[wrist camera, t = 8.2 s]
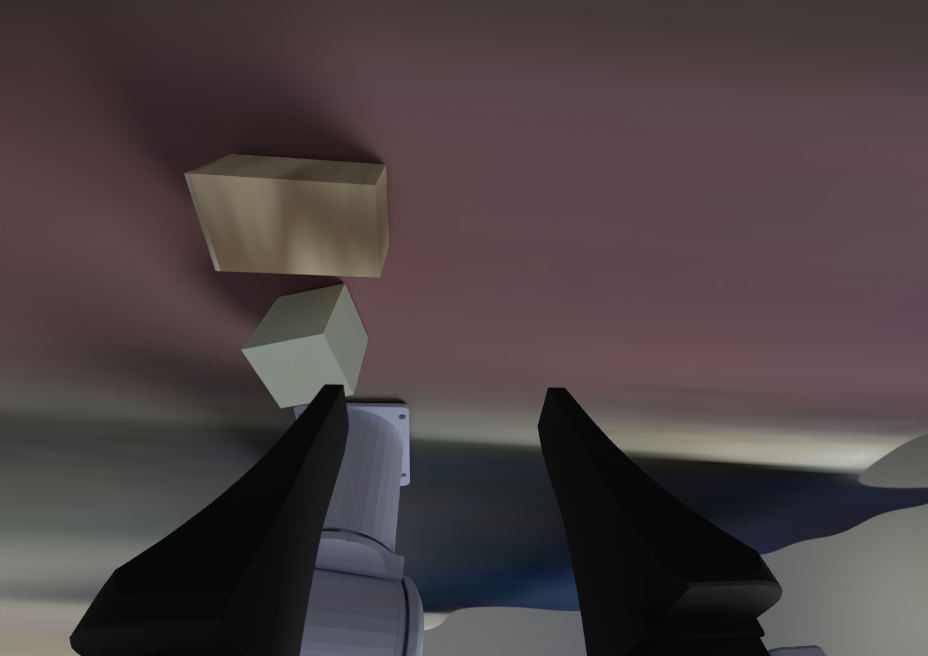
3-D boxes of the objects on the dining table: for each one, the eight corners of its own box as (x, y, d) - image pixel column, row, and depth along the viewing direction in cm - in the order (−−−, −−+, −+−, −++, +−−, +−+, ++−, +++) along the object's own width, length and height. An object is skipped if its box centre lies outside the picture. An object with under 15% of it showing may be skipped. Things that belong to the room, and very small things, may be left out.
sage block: (368, 338, 24) (353, 394, 19) (307, 350, 24) (280, 408, 20) (344, 283, 21) (322, 333, 17) (278, 297, 22) (241, 349, 17)
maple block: (252, 237, 19) (389, 243, 20) (215, 270, 16) (380, 277, 17) (231, 153, 17) (386, 164, 18) (184, 173, 14) (374, 185, 15)
